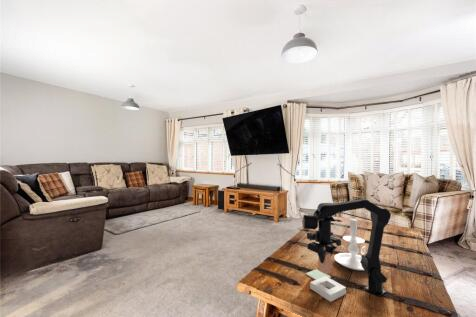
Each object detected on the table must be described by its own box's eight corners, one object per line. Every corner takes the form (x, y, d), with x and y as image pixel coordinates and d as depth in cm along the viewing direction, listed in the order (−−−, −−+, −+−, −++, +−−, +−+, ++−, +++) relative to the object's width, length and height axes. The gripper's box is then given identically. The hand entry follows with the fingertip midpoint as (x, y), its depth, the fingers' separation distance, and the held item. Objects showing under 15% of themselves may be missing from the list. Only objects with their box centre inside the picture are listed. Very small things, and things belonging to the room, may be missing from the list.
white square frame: (325, 281, 106) (325, 275, 106) (345, 293, 96) (345, 287, 96) (310, 288, 100) (310, 282, 100) (330, 301, 91) (330, 294, 91)
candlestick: (384, 266, 122) (384, 218, 122) (363, 279, 108) (363, 225, 108) (348, 253, 139) (348, 211, 139) (327, 263, 125) (327, 216, 125)
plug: (323, 268, 105) (323, 250, 105) (330, 272, 101) (330, 253, 101) (318, 270, 102) (318, 252, 103) (325, 274, 99) (325, 255, 99)
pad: (316, 269, 117) (316, 269, 117) (331, 277, 109) (331, 276, 109) (305, 274, 113) (305, 273, 113) (319, 282, 105) (319, 281, 105)
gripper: (322, 222, 114) (322, 251, 114) (298, 228, 104) (298, 259, 104) (341, 228, 104) (341, 259, 104) (317, 235, 95) (317, 269, 94)
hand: (324, 261), depth 102 cm, fingers closed on plug, 4 cm apart
